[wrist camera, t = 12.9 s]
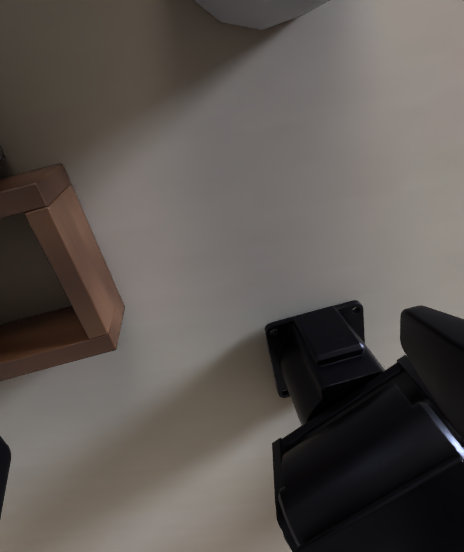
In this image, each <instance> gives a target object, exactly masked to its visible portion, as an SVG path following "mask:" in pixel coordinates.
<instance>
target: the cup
mask: <svg viewBox="0 0 464 552" xmlns="http://www.w3.org/2000/svg"><path fill="white" fill-rule="evenodd" d="M194 1H195V2H197V3H198V4H199V5H200V6H201V7H203V8H204V9H205V10H206V11H208V12H209V13H210V14H211V15H212V16H214V17H215V18H216V19H217V20H218V21H220V22H223V23H228V24H233V25H238V26H243V27H249V28H254V29H259V30H264V29H267V28H269V27H272V26H275V25H277V24H280V23H283V22H285V21H288V20H291V19H294V18H296V17H299V16H302V15H304V14H306V13H307V12H309V11H311V10H313V9H315V8H317V7H319V6H320V5H322V4H324V3H326V2H328V1H330V0H194Z"/></svg>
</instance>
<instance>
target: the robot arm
mask: <svg viewBox="0 0 464 552" xmlns="http://www.w3.org/2000/svg"><path fill="white" fill-rule="evenodd" d="M355 307H356V309H355V310H352V309H353V308H355ZM273 329H275V331H274V332H270V331H271V330H273ZM265 335H266V340H267V345H268V349H269V354H270V359H271V363H272V368H273V373H274V377H275V382H276V387H277V391H278V394H279V396H280V397H282V398H286V397H290V396H291V399H292V402H293V404H294V407H295V409H296V412H297V414H298V417H299V420H300V422H301V425H302V426H301V427H299V428H298V429H296V430H295V431H293V432H292V433H290V434H289V435H287V436H286V437H284V438H283V439H281V438H279V439H278V440H276V441H275V442H273V443H272V450H273V470H274V489H275V505H276V516H277V522H278V524H279V526H280V528H281V529H282V531H283V535H284V538H285V540H286V542H287V543H288V545H289V546H290V548H291V550H292V552H464V319H461V318H458V317H455V316H452V315H449V314H446V313H443V312H440V311H437V310H434V309H431V308H428V307H425V306H415V307H411V308H408V309H405V310H403V311H402V313H401V319H400V341H401V345H402V348H403V350H404V352H405V353H406V355H407V356H408V357H407V356H406V355H404V356H403V357H401V358H400V359H398V360H397V363H396V364H394V365H393V366H391V367H390V368H388V369H387V370H384V368H383V367H382V366H381V364H380V363H379V362H378V360H377V359H376V358H375V357H374V355H373V354H372V353H371V351H370V350H369V349H368V347H367V346H366V345H365V339H364V317H363V306H362V305H361V304H360V303H359V302H358V301H356V300H355V301H350V302H346V303H342V304H339V305H335V306H331V307H327V308H323V309H319V310H316V311H312V312H308V313H305V314H301V315H297V316H294V317H291V318H287V319H283V320H279V321H276V322H272V323H269V324H268V325H266V327H265ZM284 390H286V391H284ZM10 462H11V451H10V448H9V446H8V445H7V444H6V442H5V441H4V440H3V439H2V437H1V436H0V518H1V512H2V507H3V501H4V496H5V490H6V484H7V479H8V473H9V468H10Z"/></svg>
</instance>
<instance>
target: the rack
mask: <svg viewBox="0 0 464 552" xmlns="http://www.w3.org/2000/svg"><path fill="white" fill-rule="evenodd" d="M24 212H25V216H26V218H27V220H28V222H29V224H30V226H31V228H32V230H33V232H34V234H35V236H36V238H37V240H38V241H39V243H40V245H41V247H42V249H43V251H44V253H45V255H46V257H47V259H48V261H49V263H50V265H51V267H52V268H53V270H54V272H55V274H56V276H57V278H58V280H59V282H60V284H61V286H62V288H63V290H64V292H65V294H66V295H67V297H68V299H69V301H70V303H71V305H72V306H70V307H66V308H62V309H58V310H55V311H51V312H47V313H43V314H40V315H36V316H32V317H28V318H24V319H21V320H17V321H13V322H9V323H5V324H2V325H0V381H2V380H6V379H10V378H13V377H17V376H21V375H24V374H28V373H32V372H36V371H39V370H43V369H47V368H50V367H54V366H58V365H62V364H65V363H69V362H73V361H76V360H80V359H84V358H88V357H91V356H95V355H99V354H102V353H106V352H110V351H114V350H116V348H117V343H118V338H119V334H120V329H121V324H122V319H123V314H124V309H125V306H124V304H123V301H122V299H121V297H120V295H119V294H118V290H117V288H116V286H115V283H114V281H113V279H112V276H111V274H110V272H109V270H108V267H107V265H106V263H105V260H104V258H103V256H102V253H101V251H100V249H99V246H98V244H97V242H96V240H95V237H94V235H93V233H92V230H91V228H90V226H89V223H88V221H87V219H86V216H85V214H84V212H83V210H82V207H81V205H80V203H79V200H78V198H77V196H76V193H75V191H74V189H73V186H72V185H71V184H70V180H69V177H68V175H67V173H66V170H65V168H64V166H63V164H58V165H54V166H50V167H46V168H42V169H38V170H34V171H30V172H26V173H22V174H18V175H14V176H10V177H6V178H2V179H0V218H4V217H8V216H12V215H16V214H20V213H24Z"/></svg>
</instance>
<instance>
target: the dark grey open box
mask: <svg viewBox="0 0 464 552" xmlns="http://www.w3.org/2000/svg"><path fill="white" fill-rule="evenodd" d="M5 158H6V156H5V154H4V152H3V150H2V148H1V146H0V161H1V160H3V159H5Z"/></svg>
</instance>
